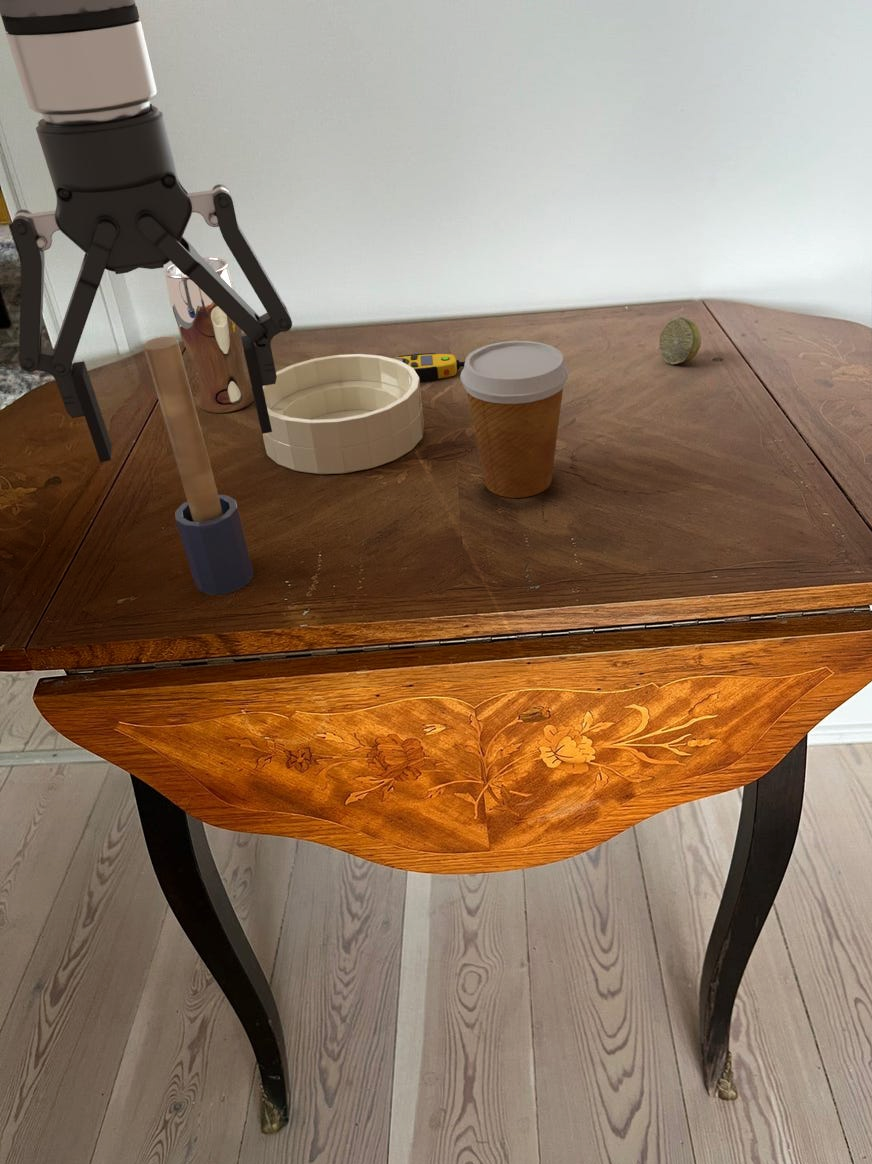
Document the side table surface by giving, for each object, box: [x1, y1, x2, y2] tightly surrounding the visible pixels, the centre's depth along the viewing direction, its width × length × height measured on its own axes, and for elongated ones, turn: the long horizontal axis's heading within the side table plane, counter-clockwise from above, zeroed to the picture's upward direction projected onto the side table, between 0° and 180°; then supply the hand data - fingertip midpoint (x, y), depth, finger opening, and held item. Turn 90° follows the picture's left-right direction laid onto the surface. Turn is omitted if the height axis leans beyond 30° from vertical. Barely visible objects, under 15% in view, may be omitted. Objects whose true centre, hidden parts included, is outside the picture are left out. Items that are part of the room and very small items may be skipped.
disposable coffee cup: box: [460, 340, 570, 499], centre depth 86 cm, size 10×10×12 cm
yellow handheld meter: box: [392, 352, 465, 383], centre depth 111 cm, size 5×2×15 cm
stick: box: [142, 336, 223, 522], centre depth 73 cm, size 2×2×20 cm
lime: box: [658, 316, 702, 365], centre depth 108 cm, size 4×5×5 cm
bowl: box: [261, 353, 425, 475], centre depth 97 cm, size 16×16×6 cm
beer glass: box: [163, 256, 255, 414], centre depth 104 cm, size 7×7×15 cm
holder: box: [174, 494, 255, 595], centre depth 77 cm, size 5×5×7 cm
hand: (186, 439), depth 71 cm, fingers open, 11 cm apart
